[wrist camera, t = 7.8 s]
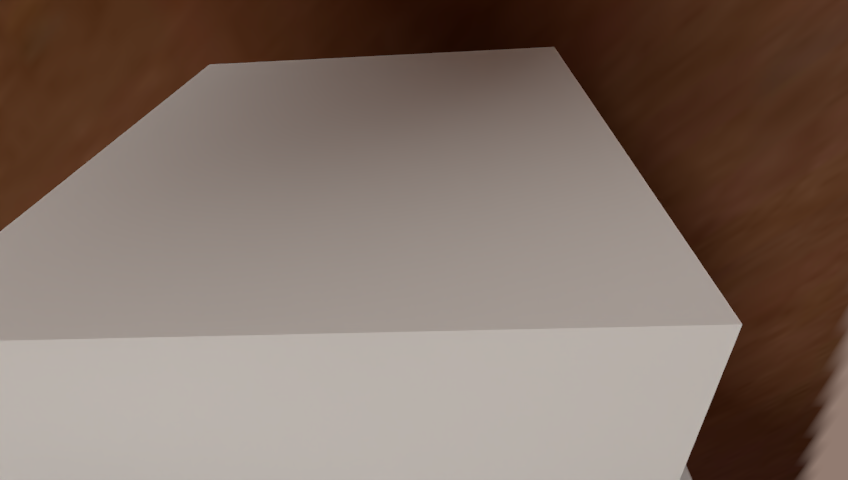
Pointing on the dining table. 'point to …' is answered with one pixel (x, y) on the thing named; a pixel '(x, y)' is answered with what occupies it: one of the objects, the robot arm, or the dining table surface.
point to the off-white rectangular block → (358, 287)
